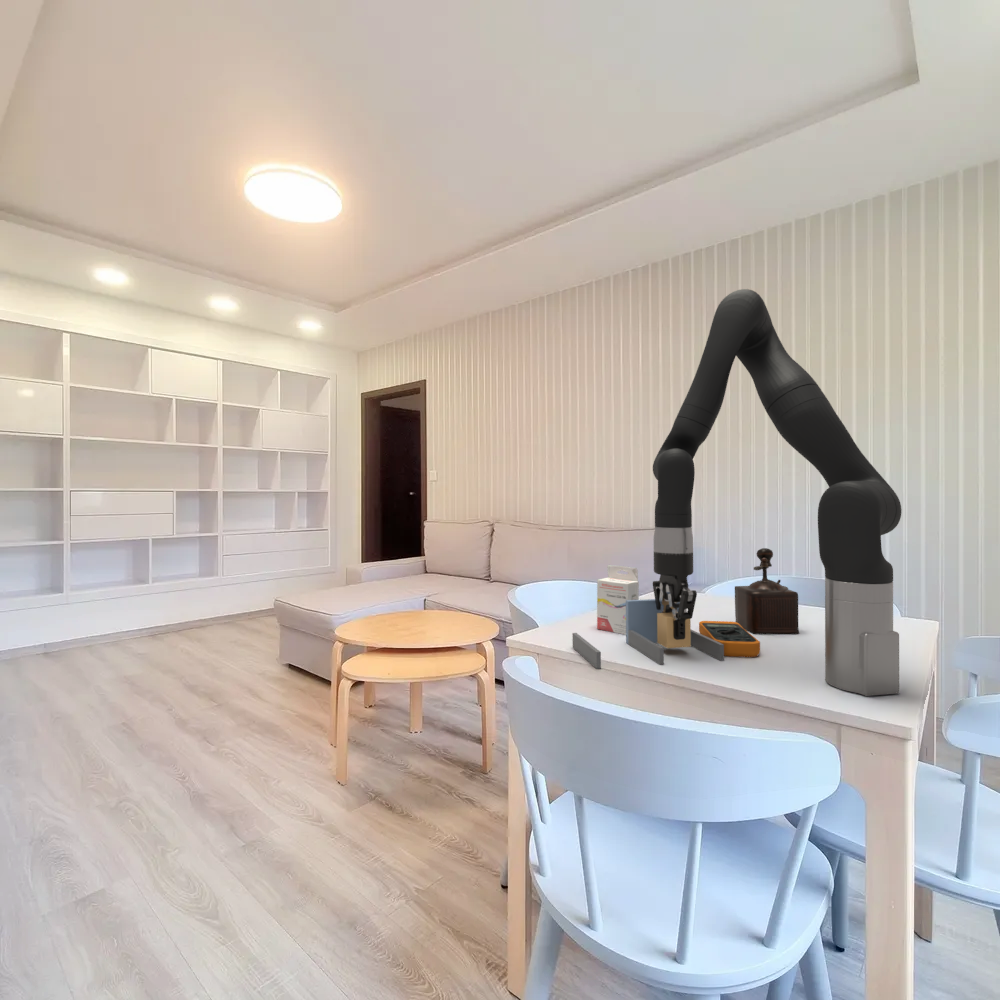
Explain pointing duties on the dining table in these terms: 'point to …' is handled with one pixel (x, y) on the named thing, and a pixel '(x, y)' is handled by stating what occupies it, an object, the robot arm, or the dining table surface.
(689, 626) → the tan wooden cube
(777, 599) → the manual coffee grinder
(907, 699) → the dining table surface
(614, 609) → the ink cartridge box
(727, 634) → the multimeter
